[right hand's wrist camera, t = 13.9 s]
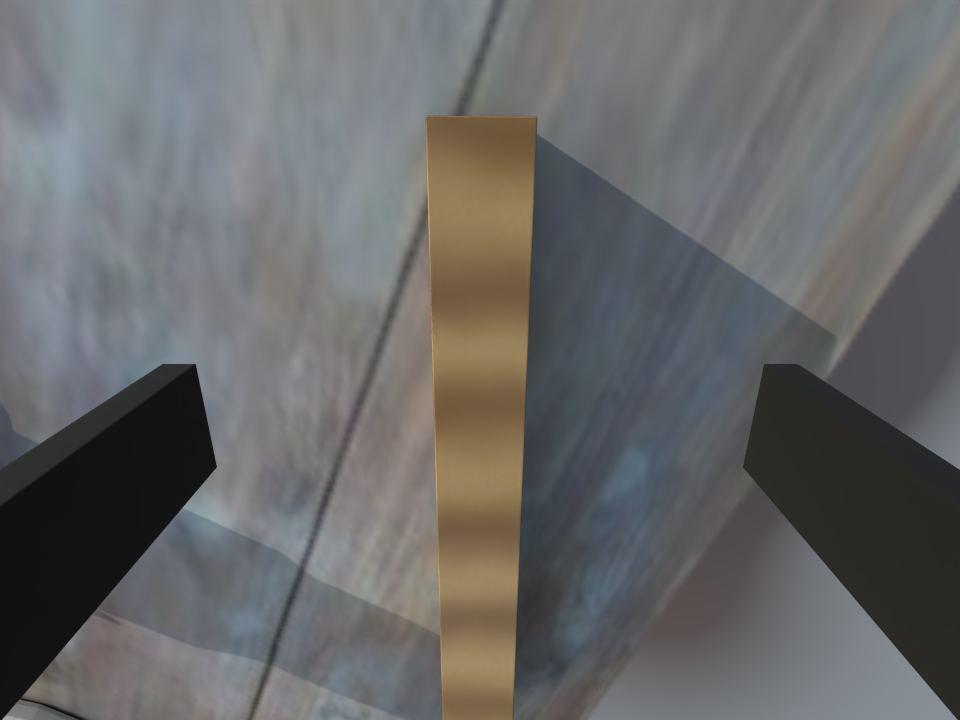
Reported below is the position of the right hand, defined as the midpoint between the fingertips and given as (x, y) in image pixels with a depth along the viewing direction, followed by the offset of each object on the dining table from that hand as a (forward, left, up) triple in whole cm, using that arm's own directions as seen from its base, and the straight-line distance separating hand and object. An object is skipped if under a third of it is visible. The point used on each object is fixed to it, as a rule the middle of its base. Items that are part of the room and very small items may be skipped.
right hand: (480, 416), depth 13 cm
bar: (+2, +18, -26) cm, 31 cm away
